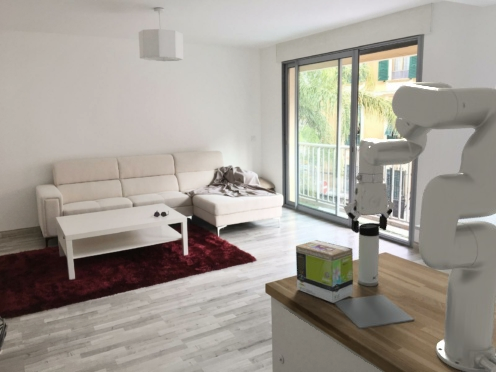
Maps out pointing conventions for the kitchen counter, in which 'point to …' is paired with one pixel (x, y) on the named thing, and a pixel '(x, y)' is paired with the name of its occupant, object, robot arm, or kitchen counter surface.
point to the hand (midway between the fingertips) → (369, 230)
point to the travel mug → (368, 254)
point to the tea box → (325, 270)
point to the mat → (372, 311)
